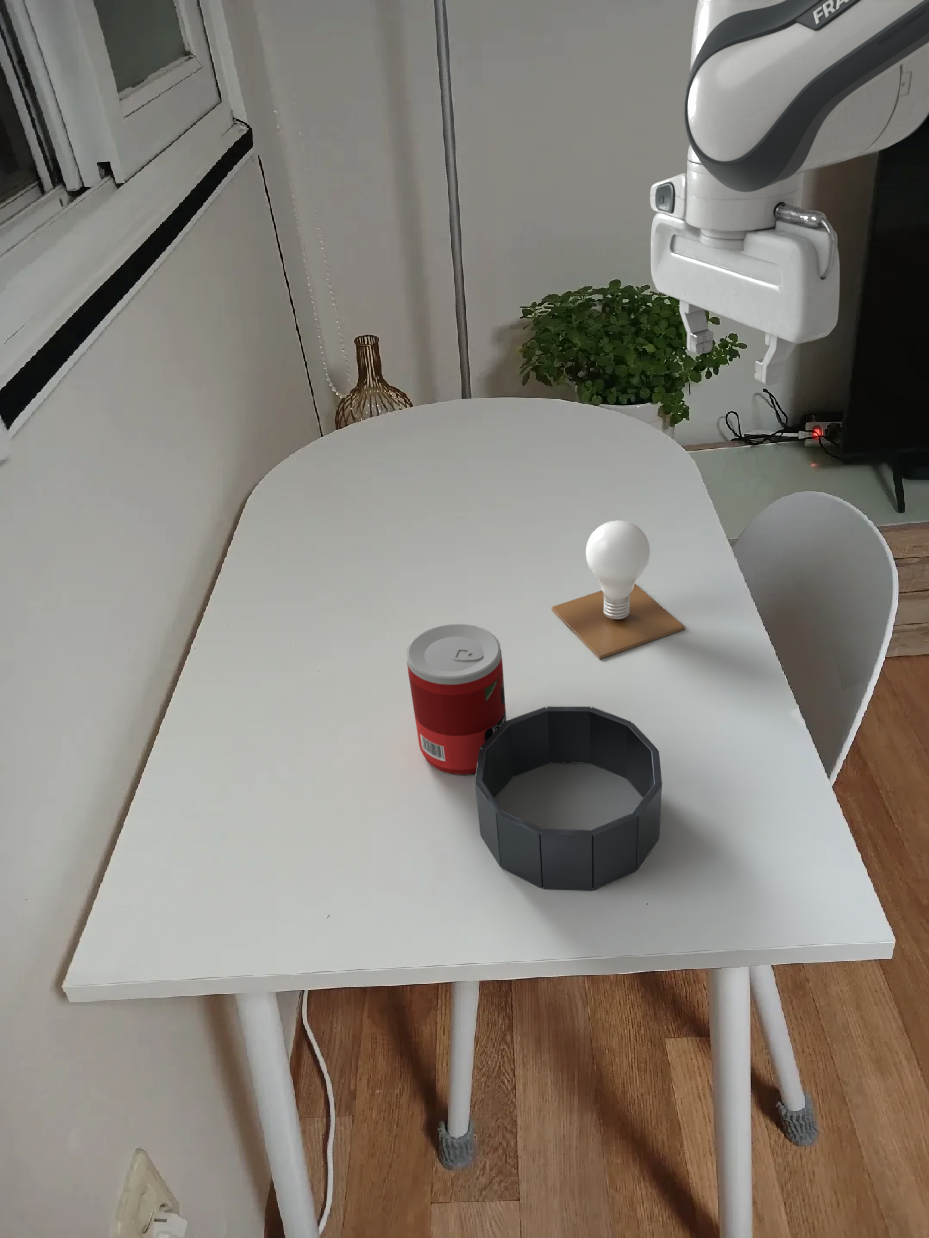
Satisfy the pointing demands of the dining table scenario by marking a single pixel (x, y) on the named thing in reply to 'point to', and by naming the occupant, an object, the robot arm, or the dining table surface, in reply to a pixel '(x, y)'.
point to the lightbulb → (617, 563)
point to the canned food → (456, 694)
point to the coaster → (616, 622)
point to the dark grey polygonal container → (562, 851)
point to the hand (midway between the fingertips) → (732, 366)
